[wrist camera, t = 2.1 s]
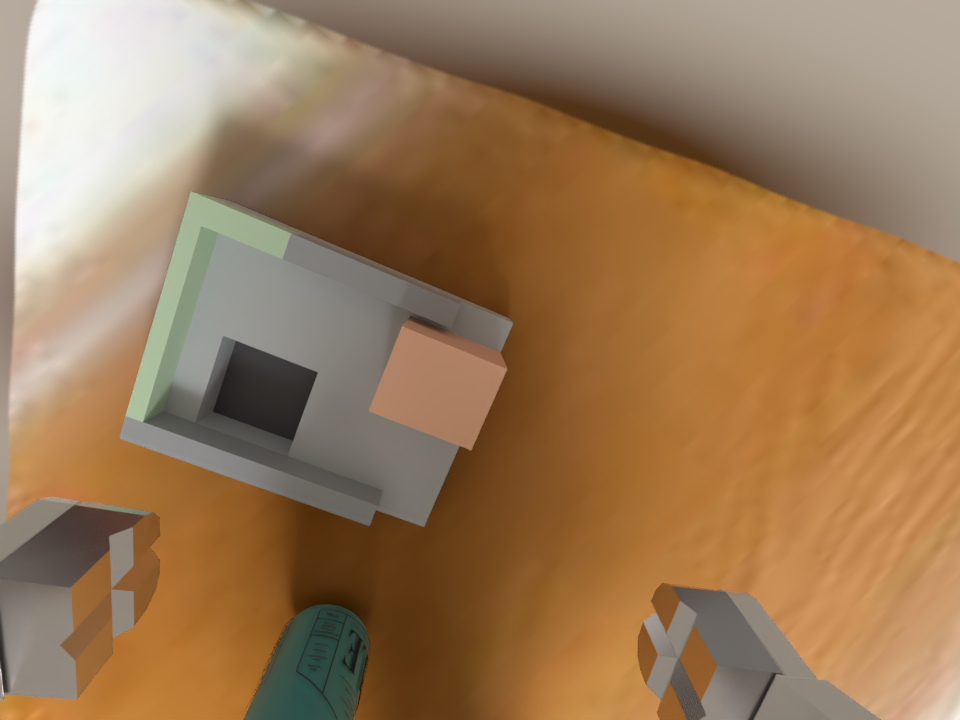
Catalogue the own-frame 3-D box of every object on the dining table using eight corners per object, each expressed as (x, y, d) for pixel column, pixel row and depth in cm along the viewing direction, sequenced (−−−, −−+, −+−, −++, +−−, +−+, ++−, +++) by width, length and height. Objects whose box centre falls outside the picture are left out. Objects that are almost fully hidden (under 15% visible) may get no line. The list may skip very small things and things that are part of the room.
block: (500, 352, 30) (507, 369, 26) (469, 422, 31) (471, 450, 27) (410, 315, 29) (401, 326, 25) (381, 388, 30) (368, 411, 26)
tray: (509, 318, 32) (517, 327, 28) (426, 508, 35) (421, 544, 30) (229, 200, 30) (190, 191, 25) (164, 414, 32) (118, 438, 28)
